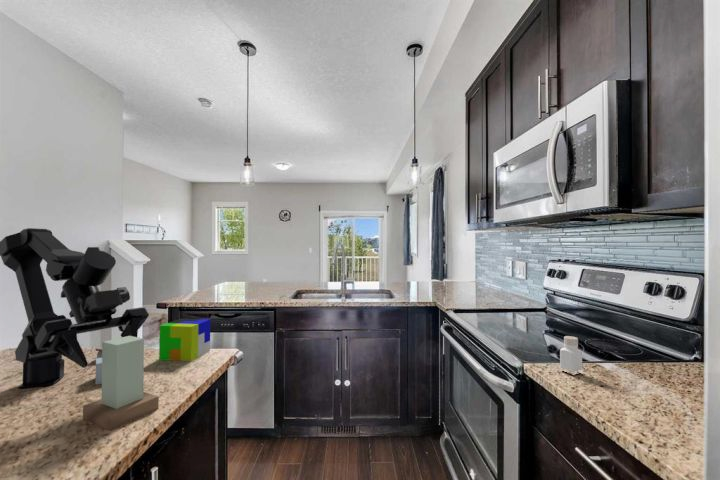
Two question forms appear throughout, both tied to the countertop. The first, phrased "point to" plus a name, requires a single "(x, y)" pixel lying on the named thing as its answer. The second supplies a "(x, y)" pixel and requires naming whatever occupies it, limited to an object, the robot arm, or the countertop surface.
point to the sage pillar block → (122, 371)
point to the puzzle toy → (184, 339)
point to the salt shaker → (571, 355)
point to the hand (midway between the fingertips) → (112, 359)
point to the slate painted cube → (98, 371)
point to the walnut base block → (119, 411)
